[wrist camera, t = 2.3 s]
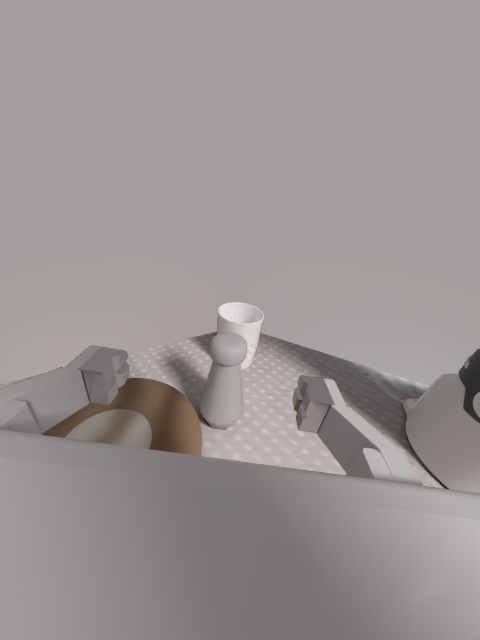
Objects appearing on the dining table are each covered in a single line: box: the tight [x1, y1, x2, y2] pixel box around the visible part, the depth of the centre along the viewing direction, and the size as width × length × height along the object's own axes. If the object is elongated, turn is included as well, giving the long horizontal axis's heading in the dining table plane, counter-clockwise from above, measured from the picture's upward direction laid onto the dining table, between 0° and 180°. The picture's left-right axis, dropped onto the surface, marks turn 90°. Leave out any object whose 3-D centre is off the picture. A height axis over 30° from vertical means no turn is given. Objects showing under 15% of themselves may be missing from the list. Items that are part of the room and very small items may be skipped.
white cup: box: [217, 302, 264, 370], centre depth 39 cm, size 8×8×10 cm
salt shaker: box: [199, 332, 247, 430], centre depth 27 cm, size 6×6×13 cm
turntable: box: [41, 378, 202, 456], centre depth 23 cm, size 20×20×1 cm
